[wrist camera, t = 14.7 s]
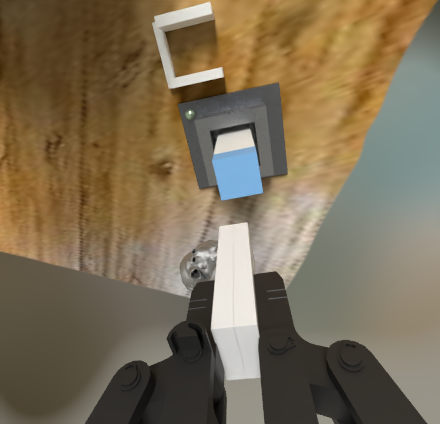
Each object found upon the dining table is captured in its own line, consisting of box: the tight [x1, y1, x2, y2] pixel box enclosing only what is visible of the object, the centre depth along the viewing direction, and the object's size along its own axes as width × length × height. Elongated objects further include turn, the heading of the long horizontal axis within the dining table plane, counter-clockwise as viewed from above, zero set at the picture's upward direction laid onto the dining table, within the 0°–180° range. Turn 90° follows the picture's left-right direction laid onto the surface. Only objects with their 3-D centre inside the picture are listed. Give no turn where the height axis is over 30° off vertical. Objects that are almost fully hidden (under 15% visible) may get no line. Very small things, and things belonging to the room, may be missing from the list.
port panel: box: [178, 82, 288, 189], centre depth 36 cm, size 12×13×5 cm
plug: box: [212, 124, 263, 200], centre depth 32 cm, size 4×4×14 cm
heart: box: [180, 240, 218, 291], centre depth 42 cm, size 10×10×12 cm
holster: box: [152, 2, 224, 89], centre depth 32 cm, size 7×7×4 cm
